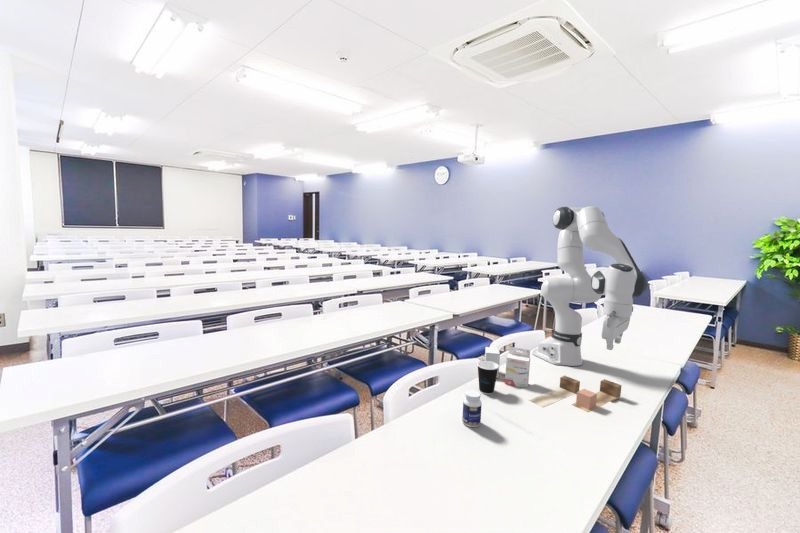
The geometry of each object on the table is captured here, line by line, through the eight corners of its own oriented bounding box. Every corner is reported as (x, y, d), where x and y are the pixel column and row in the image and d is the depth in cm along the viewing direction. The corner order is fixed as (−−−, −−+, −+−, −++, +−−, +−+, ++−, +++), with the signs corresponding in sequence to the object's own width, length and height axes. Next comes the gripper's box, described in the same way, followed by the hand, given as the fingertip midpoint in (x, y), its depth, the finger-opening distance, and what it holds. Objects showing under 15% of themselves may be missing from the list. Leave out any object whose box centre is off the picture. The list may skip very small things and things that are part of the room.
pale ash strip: (528, 402, 128) (529, 389, 127) (564, 387, 140) (564, 375, 140) (543, 409, 123) (544, 396, 122) (578, 393, 135) (579, 381, 135)
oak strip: (571, 406, 125) (571, 393, 125) (603, 391, 138) (604, 379, 137) (588, 414, 120) (589, 400, 120) (620, 397, 133) (621, 385, 132)
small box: (498, 378, 149) (500, 353, 148) (484, 377, 150) (486, 352, 149) (497, 370, 157) (498, 347, 156) (484, 369, 158) (485, 346, 157)
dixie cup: (493, 388, 140) (495, 360, 139) (500, 397, 132) (501, 369, 131) (473, 388, 140) (474, 360, 139) (478, 397, 132) (480, 368, 131)
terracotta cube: (576, 404, 126) (577, 391, 125) (583, 400, 128) (584, 388, 128) (588, 409, 122) (589, 397, 121) (595, 406, 124) (596, 393, 124)
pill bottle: (469, 429, 111) (471, 399, 110) (458, 420, 116) (459, 391, 115) (484, 425, 114) (485, 395, 113) (472, 416, 119) (474, 387, 118)
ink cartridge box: (504, 385, 142) (506, 349, 141) (506, 380, 147) (508, 345, 145) (527, 390, 139) (529, 353, 137) (528, 385, 143) (530, 349, 142)
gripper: (619, 316, 121) (614, 356, 123) (634, 306, 135) (630, 341, 137) (598, 312, 125) (594, 350, 127) (615, 303, 140) (612, 337, 142)
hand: (613, 346), depth 132 cm, fingers open, 8 cm apart
